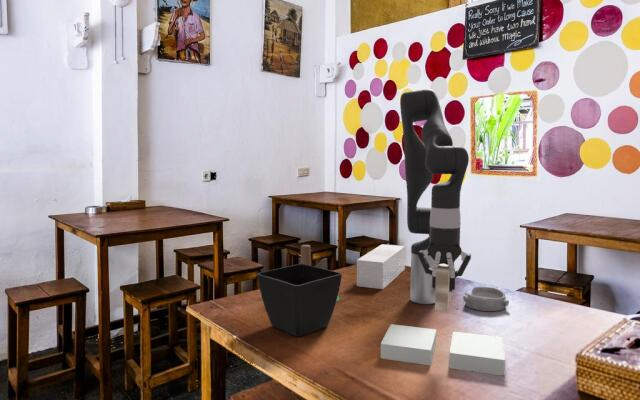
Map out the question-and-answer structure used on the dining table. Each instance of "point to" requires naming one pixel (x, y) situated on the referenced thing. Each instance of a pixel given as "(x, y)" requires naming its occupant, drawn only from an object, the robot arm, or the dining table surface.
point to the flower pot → (299, 297)
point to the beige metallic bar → (442, 288)
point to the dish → (486, 299)
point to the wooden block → (307, 257)
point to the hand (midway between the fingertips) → (443, 290)
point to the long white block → (380, 266)
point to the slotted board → (464, 350)
